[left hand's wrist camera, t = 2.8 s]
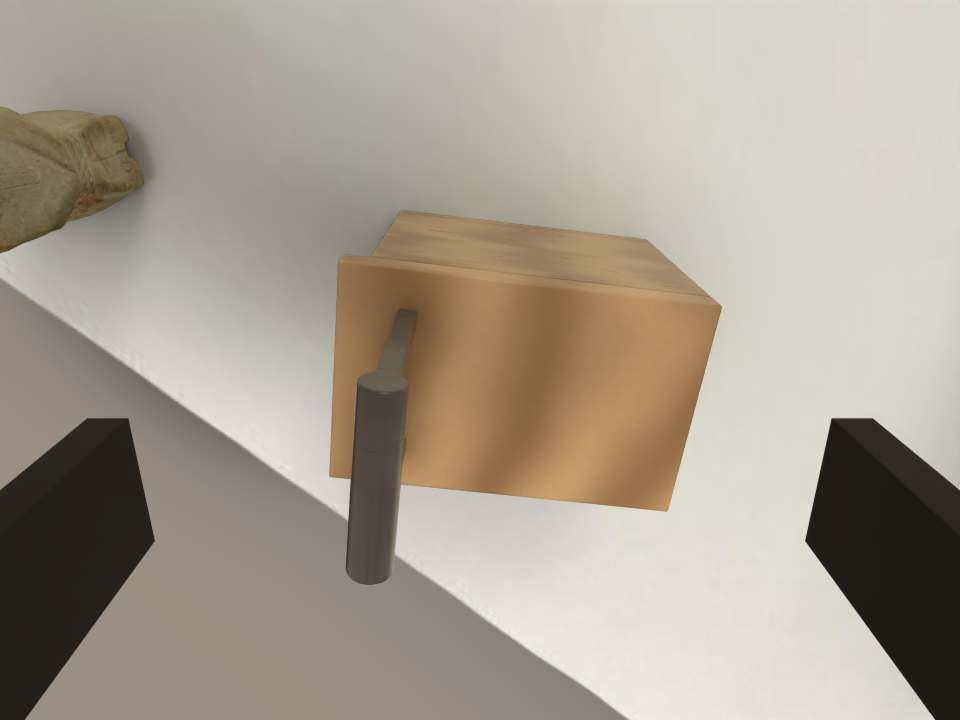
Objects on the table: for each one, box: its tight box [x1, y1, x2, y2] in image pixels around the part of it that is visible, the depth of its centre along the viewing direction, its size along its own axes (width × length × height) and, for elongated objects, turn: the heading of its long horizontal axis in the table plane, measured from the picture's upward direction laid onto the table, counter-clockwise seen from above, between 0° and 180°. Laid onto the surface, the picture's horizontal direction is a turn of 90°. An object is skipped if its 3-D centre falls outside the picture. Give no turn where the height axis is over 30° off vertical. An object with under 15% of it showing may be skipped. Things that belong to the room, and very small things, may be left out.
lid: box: [329, 254, 722, 585], centre depth 23 cm, size 14×9×9 cm, turn 83°
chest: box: [370, 210, 710, 297], centre depth 32 cm, size 13×9×10 cm
